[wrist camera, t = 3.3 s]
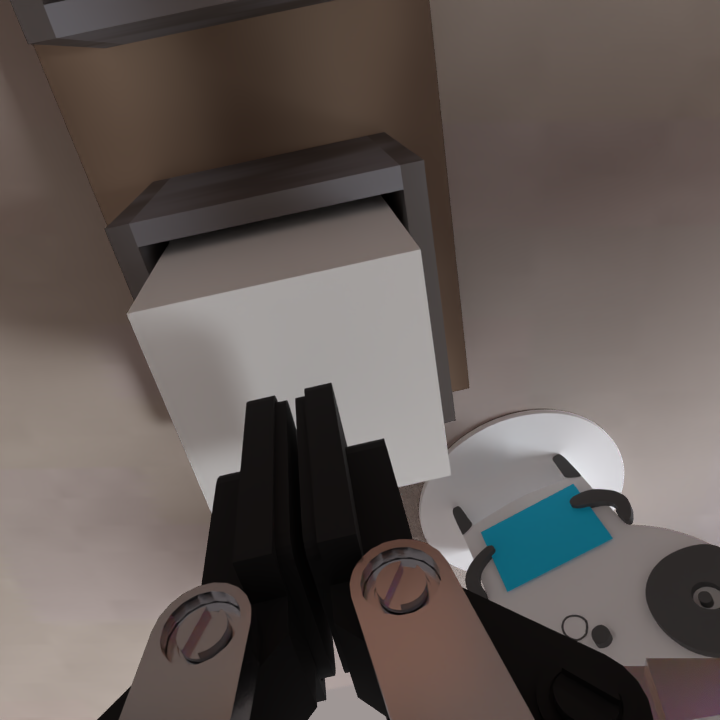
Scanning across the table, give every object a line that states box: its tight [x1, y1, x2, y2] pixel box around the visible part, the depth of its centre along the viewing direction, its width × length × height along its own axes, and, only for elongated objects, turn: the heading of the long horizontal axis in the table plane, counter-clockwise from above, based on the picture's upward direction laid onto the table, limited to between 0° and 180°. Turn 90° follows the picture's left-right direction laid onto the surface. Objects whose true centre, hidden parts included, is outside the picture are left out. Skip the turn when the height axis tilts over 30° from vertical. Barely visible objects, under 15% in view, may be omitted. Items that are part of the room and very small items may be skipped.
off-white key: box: [127, 195, 451, 513], centre depth 15 cm, size 6×6×6 cm
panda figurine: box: [419, 409, 720, 666], centre depth 24 cm, size 12×11×15 cm
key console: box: [10, 0, 469, 423], centre depth 16 cm, size 12×26×8 cm, turn 10°
